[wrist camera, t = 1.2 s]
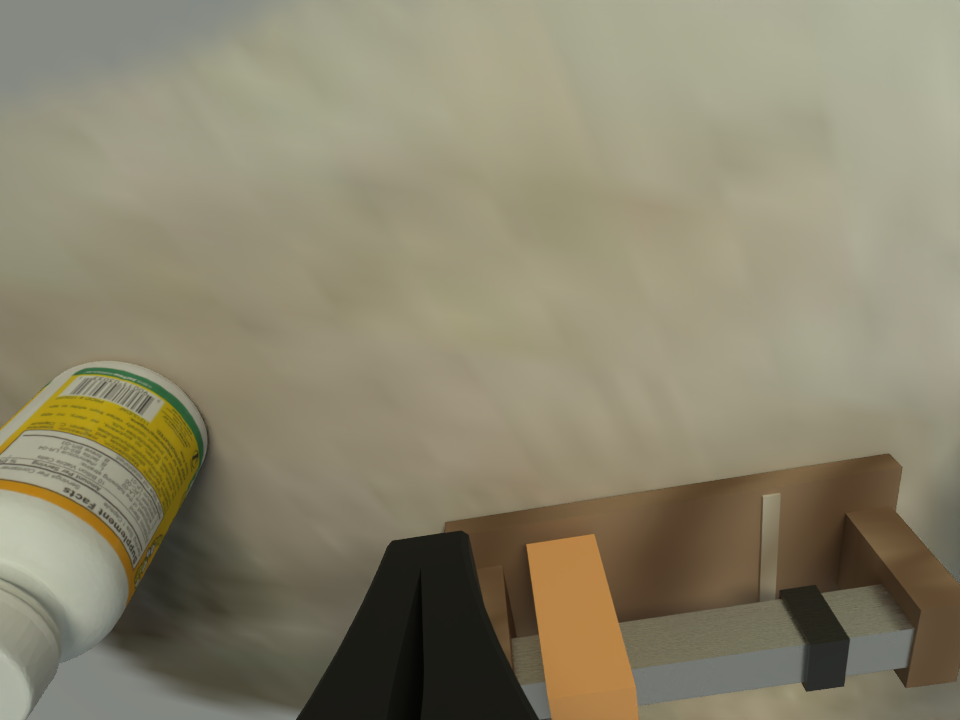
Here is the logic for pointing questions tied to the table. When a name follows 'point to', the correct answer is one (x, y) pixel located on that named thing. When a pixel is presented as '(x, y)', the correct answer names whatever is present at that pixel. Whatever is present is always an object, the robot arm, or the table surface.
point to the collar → (580, 633)
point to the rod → (750, 646)
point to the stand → (736, 552)
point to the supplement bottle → (84, 512)
